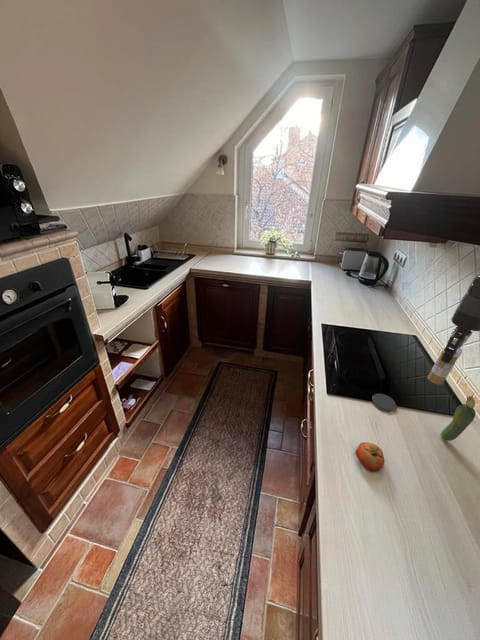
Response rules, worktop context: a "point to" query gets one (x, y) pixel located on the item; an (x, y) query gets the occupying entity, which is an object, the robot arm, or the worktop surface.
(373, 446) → the tomato
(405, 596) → the worktop surface
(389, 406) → the slate coaster
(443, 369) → the sprinkles bottle
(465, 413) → the vegetable
